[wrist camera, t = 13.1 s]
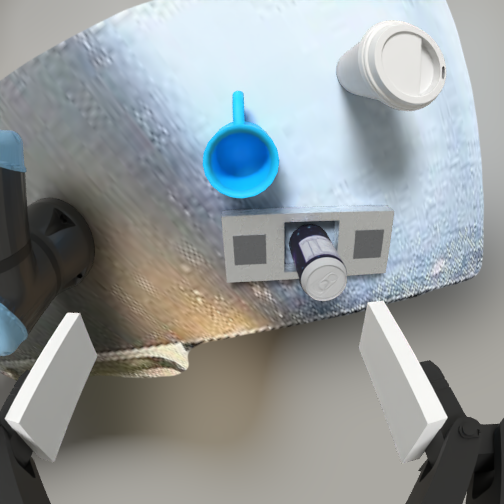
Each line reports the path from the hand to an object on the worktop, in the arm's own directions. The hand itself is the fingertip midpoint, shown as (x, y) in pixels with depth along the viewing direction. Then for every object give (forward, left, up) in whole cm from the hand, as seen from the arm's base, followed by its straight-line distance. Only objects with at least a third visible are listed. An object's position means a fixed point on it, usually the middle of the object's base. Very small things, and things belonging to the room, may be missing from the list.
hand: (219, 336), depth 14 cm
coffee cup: (+17, +14, -32) cm, 39 cm away
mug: (+1, +5, -32) cm, 32 cm away
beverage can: (+10, -10, -32) cm, 35 cm away
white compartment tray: (+10, -10, -32) cm, 35 cm away
